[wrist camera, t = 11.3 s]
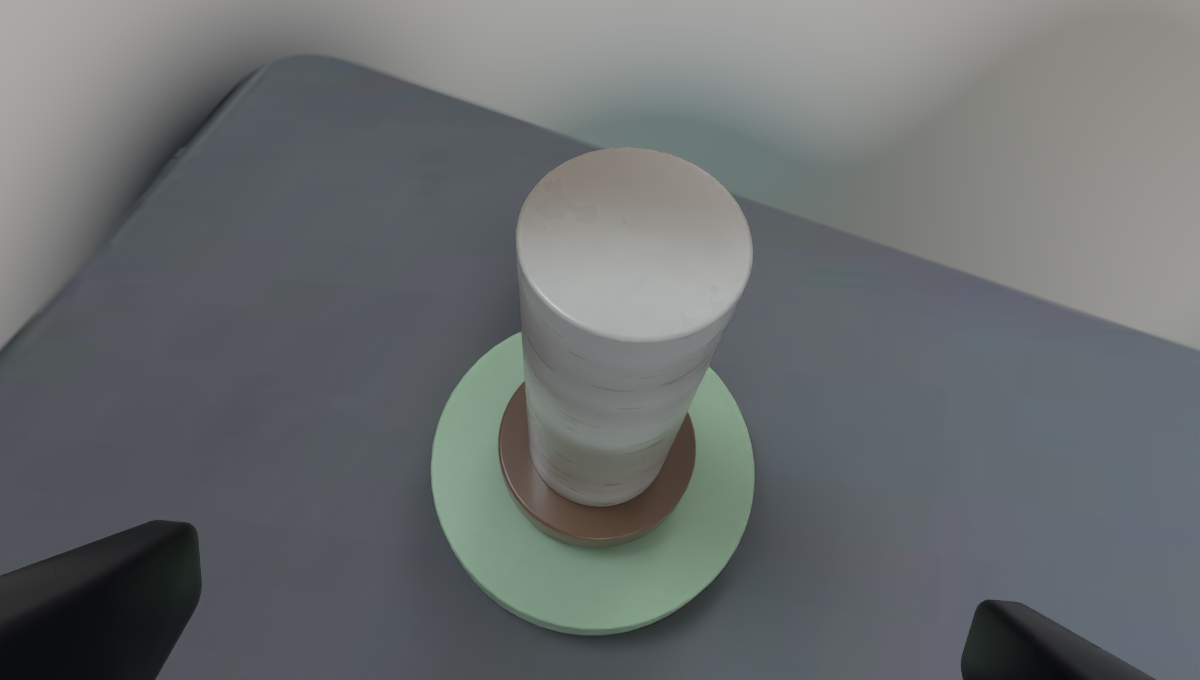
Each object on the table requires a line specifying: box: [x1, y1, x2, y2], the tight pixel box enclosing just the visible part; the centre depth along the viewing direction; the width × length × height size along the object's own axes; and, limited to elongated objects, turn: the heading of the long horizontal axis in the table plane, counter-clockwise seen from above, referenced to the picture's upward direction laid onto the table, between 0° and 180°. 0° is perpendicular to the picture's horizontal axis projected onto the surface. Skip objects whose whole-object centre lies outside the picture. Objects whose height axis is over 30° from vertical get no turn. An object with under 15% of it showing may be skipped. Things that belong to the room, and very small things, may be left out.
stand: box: [431, 332, 755, 635], centre depth 20 cm, size 9×9×2 cm
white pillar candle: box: [498, 148, 753, 548], centre depth 16 cm, size 11×5×10 cm, turn 0°
